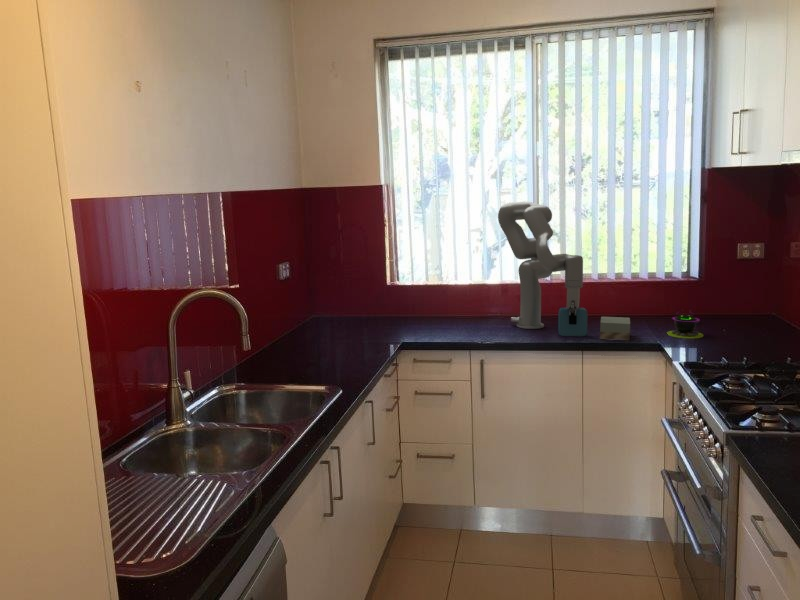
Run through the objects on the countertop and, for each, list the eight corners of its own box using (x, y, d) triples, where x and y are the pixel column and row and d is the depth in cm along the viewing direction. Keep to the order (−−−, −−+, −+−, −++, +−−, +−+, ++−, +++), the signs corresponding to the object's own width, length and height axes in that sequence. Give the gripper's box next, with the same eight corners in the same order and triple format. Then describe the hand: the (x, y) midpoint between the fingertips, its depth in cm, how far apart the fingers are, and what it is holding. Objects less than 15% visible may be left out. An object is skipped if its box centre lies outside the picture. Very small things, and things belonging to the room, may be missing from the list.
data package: (585, 334, 295) (586, 307, 293) (586, 336, 290) (587, 309, 288) (558, 333, 297) (558, 307, 295) (558, 336, 292) (559, 309, 290)
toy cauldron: (707, 333, 291) (709, 309, 289) (697, 340, 280) (699, 314, 278) (672, 329, 301) (673, 305, 299) (661, 335, 289) (662, 311, 287)
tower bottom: (599, 340, 284) (600, 331, 283) (600, 334, 296) (601, 325, 295) (629, 342, 280) (629, 333, 280) (629, 335, 292) (629, 326, 292)
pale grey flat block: (600, 331, 283) (600, 322, 283) (600, 325, 295) (601, 316, 295) (629, 333, 280) (630, 323, 279) (629, 326, 292) (629, 317, 291)
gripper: (566, 280, 299) (566, 318, 302) (563, 286, 283) (563, 325, 285) (583, 281, 297) (583, 318, 299) (581, 286, 280) (581, 326, 283)
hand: (573, 322), depth 292 cm, fingers open, 9 cm apart
